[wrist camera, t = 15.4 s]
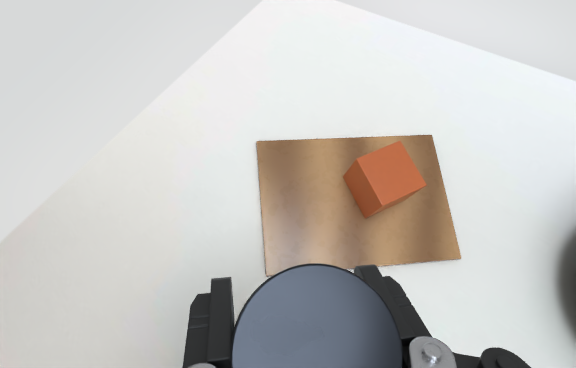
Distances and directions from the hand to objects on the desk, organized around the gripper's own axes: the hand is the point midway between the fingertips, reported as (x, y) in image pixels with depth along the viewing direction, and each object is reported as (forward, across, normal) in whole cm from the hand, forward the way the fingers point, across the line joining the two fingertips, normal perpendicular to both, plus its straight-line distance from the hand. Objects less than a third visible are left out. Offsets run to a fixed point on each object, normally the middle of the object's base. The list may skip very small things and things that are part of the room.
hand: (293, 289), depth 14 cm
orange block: (+22, -12, +8) cm, 26 cm away
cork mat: (+22, -10, +9) cm, 25 cm away
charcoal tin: (+4, 0, +6) cm, 7 cm away
